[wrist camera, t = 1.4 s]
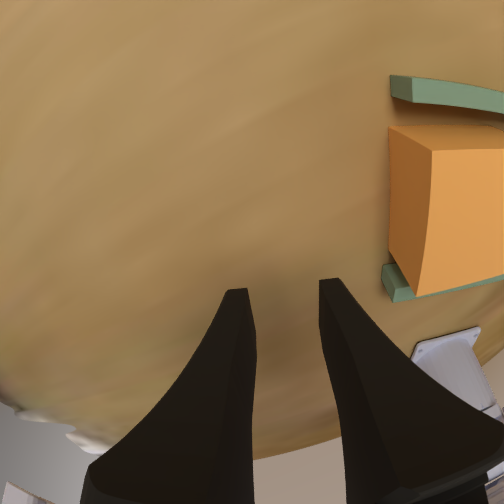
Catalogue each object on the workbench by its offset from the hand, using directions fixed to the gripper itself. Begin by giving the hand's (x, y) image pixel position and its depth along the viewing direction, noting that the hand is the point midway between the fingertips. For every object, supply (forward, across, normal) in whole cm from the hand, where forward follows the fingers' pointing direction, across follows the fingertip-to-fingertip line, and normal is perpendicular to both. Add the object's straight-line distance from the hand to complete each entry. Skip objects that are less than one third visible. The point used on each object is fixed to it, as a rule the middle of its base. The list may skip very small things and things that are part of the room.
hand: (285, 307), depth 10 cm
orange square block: (+9, -11, 0) cm, 14 cm away
